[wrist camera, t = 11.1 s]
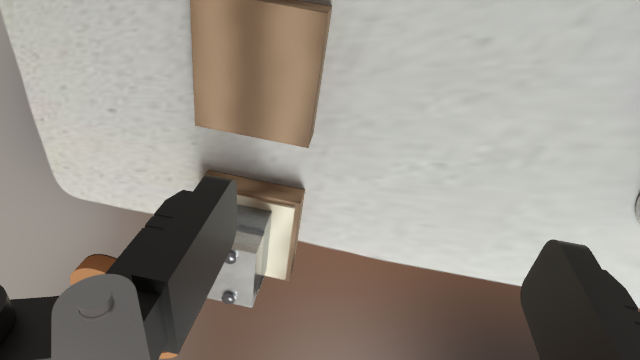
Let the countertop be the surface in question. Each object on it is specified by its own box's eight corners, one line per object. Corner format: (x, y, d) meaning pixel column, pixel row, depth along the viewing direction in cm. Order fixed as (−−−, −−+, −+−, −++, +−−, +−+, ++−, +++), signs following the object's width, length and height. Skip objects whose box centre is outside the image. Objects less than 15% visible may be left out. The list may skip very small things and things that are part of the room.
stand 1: (331, 6, 33) (327, 13, 30) (313, 133, 40) (308, 147, 37) (204, -17, 33) (189, -12, 31) (207, 112, 40) (195, 125, 38)
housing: (272, 211, 42) (255, 253, 37) (266, 269, 47) (250, 313, 42) (226, 201, 42) (203, 241, 37) (225, 260, 47) (205, 303, 42)
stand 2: (304, 189, 43) (299, 206, 41) (293, 265, 50) (288, 283, 48) (208, 170, 44) (197, 185, 41) (210, 247, 51) (200, 264, 48)
